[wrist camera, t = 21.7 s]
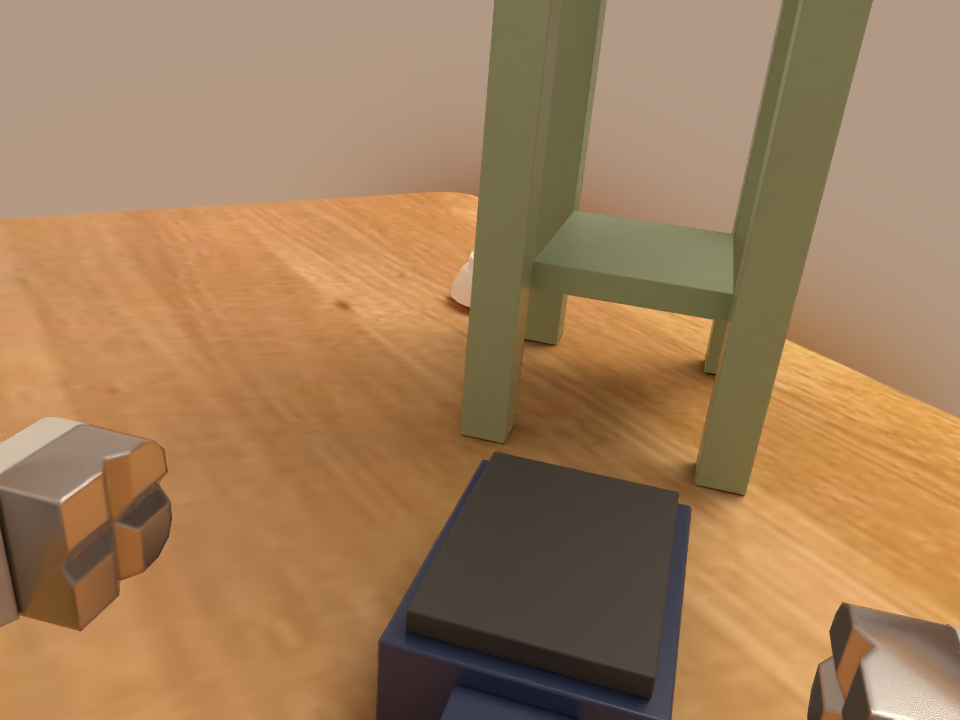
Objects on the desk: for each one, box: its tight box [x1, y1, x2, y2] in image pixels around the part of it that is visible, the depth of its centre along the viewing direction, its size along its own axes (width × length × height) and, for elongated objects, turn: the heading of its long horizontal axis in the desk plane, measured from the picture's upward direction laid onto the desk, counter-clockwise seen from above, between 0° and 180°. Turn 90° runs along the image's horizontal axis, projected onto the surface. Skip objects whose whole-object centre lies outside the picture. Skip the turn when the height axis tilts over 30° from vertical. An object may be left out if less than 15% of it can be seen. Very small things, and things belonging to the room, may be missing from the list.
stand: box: [460, 0, 873, 495], centre depth 34 cm, size 14×12×26 cm
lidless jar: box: [451, 252, 474, 308], centre depth 49 cm, size 5×3×5 cm
